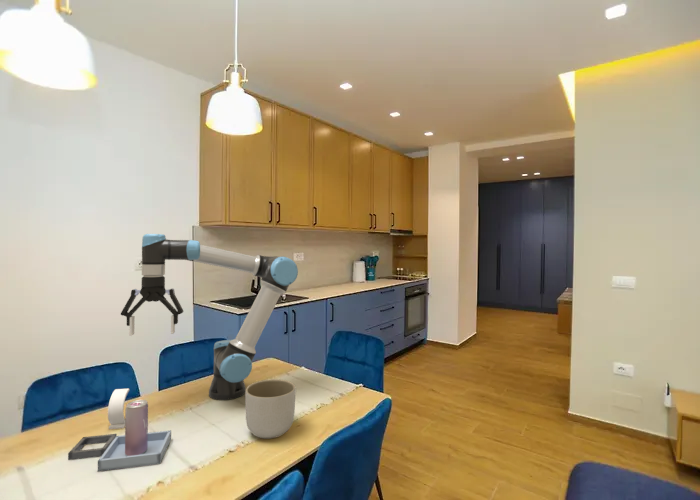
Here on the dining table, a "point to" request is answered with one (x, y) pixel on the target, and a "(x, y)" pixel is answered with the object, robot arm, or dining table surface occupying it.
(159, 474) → the dining table surface
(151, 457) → the tray
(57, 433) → the dining table surface
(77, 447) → the socket collar
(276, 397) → the planter
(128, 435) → the beverage can
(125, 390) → the white curved strip
